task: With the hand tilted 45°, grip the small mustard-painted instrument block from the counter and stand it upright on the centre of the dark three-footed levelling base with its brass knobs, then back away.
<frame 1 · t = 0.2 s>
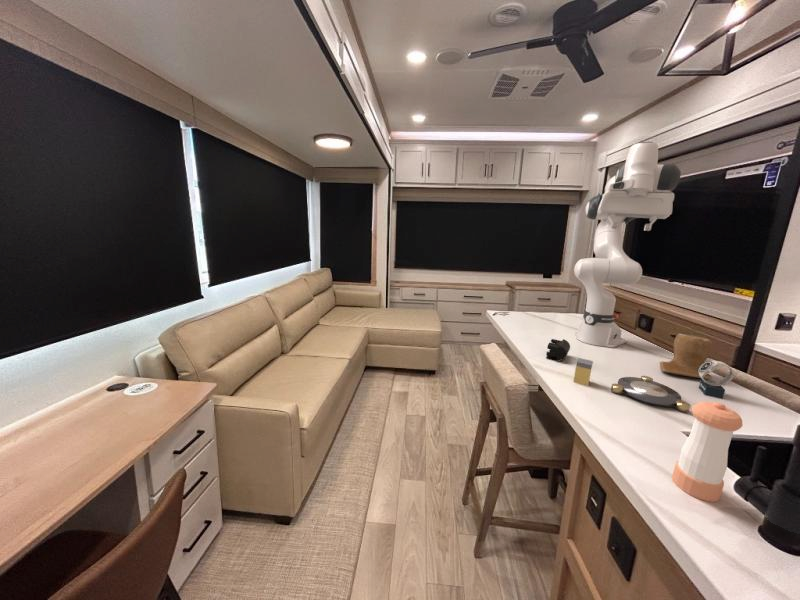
hand: (630, 229, 104), 52 cm above the table, tool tilted 20°, fingers open, 8 cm apart
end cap: (557, 358, 127), on the table
instrument block: (581, 381, 107), on the table
levelling base: (646, 394, 100), on the table
watch: (709, 393, 103), on the table
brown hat: (680, 373, 117), on the table
pepper shaker: (694, 487, 64), on the table
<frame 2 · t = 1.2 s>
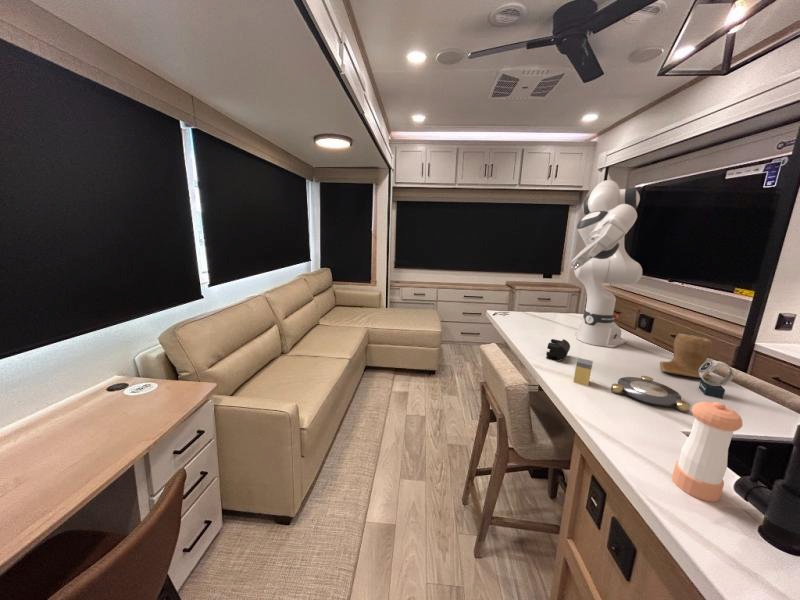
hand: (581, 262, 106), 40 cm above the table, tool tilted 55°, fingers open, 8 cm apart
nothing on the table moved.
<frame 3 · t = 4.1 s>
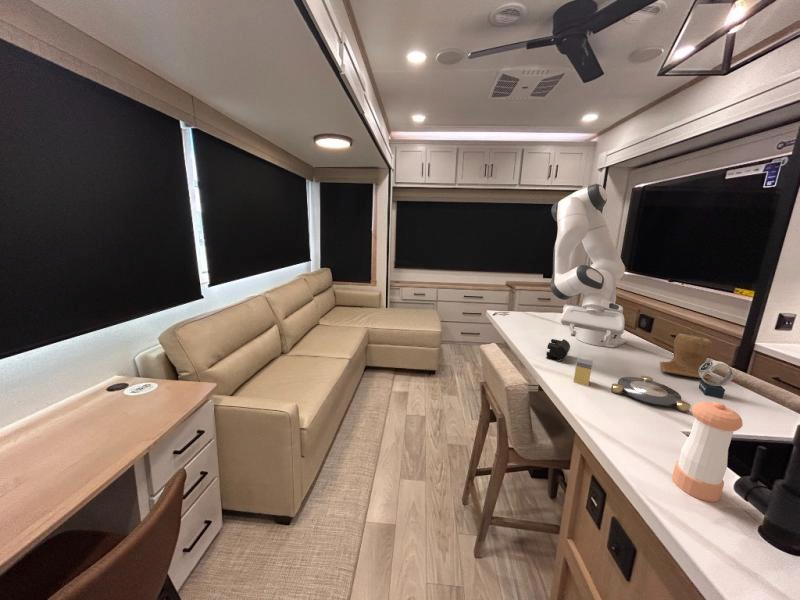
hand: (587, 338, 113), 13 cm above the table, tool tilted 45°, fingers open, 8 cm apart
nothing on the table moved.
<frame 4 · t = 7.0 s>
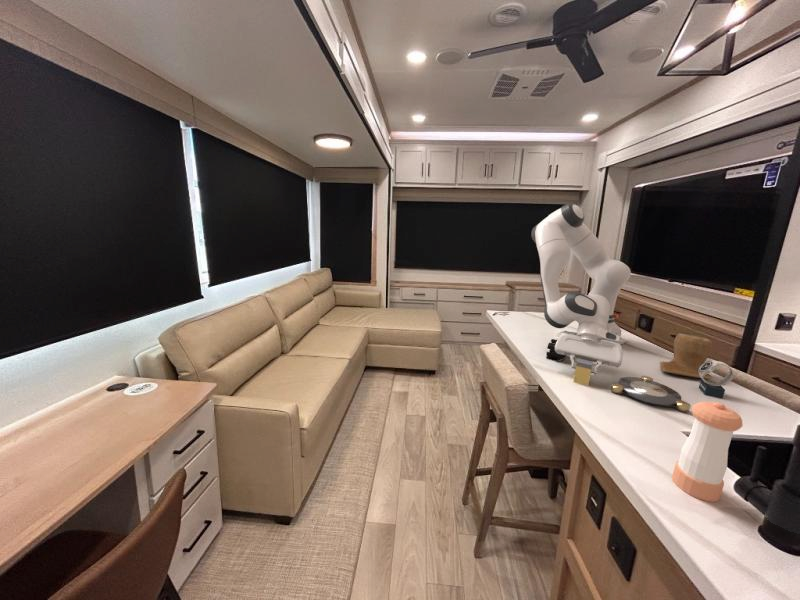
hand: (583, 370, 106), 4 cm above the table, tool tilted 45°, fingers closed on instrument block, 4 cm apart
instrument block: (581, 381, 107), on the table, touching gripper
everything else where it was.
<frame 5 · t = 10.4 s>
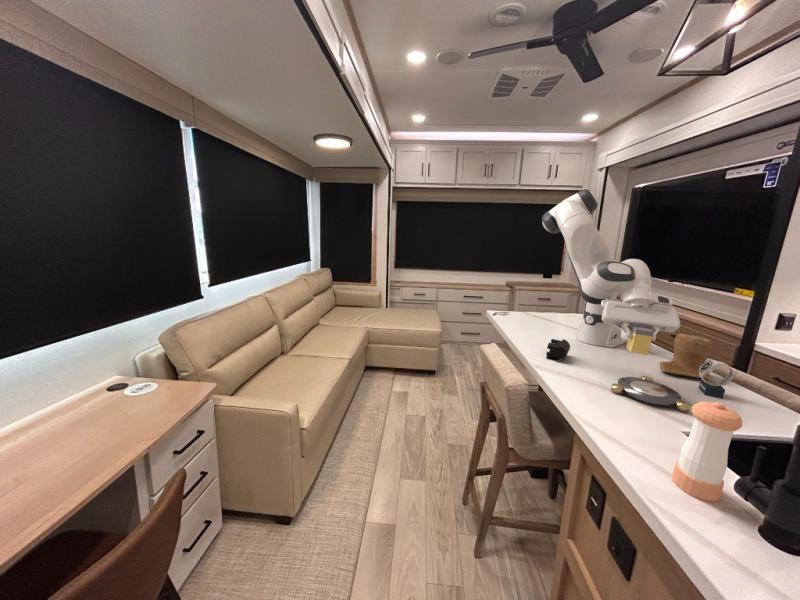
hand: (640, 338, 96), 19 cm above the table, tool tilted 45°, fingers closed on instrument block, 4 cm apart
instrument block: (636, 351, 98), point 14 cm above the table, touching gripper
everything else where it was.
when the fingers open (8 cm above the table, at t = 14.0 s): instrument block drops 1 cm, resting on levelling base.
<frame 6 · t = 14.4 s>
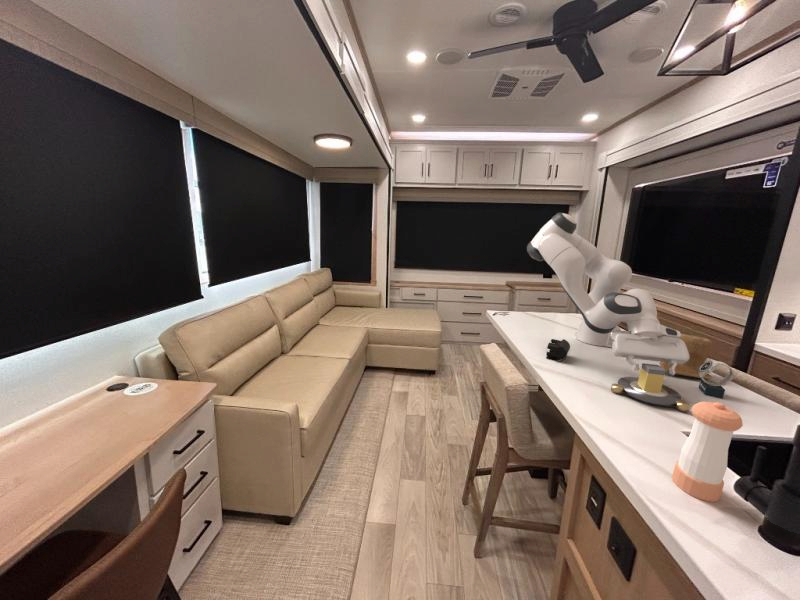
hand: (653, 372, 97), 8 cm above the table, tool tilted 45°, fingers open, 8 cm apart
instrument block: (648, 388, 99), point 2 cm above the table, touching levelling base
everything else where it was.
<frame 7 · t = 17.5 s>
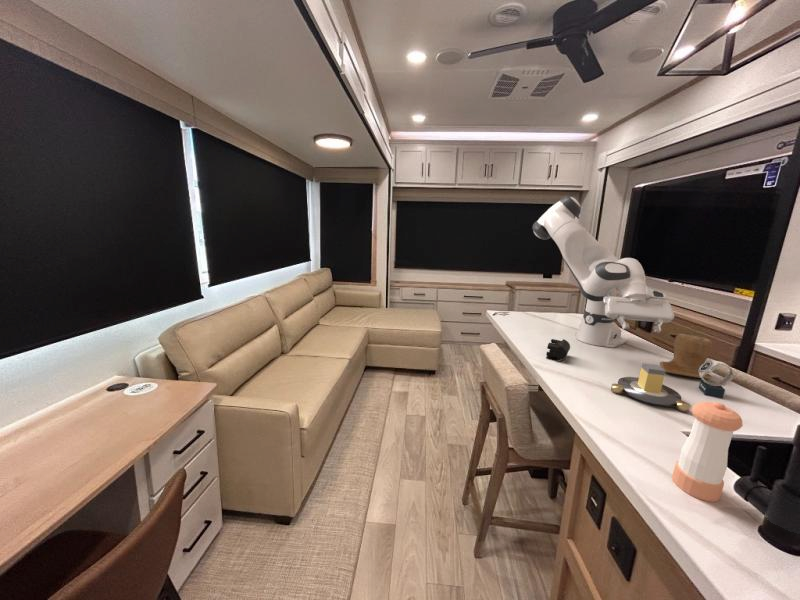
hand: (641, 330, 107), 18 cm above the table, tool tilted 45°, fingers open, 8 cm apart
nothing on the table moved.
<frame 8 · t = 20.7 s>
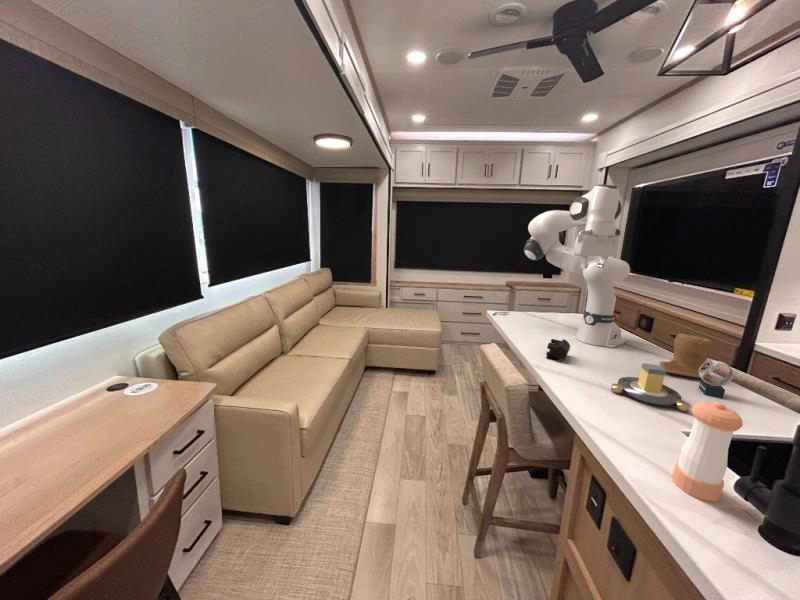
hand: (592, 268, 118), 37 cm above the table, tool pointing down, fingers open, 8 cm apart
nothing on the table moved.
at the end: instrument block 0.1 cm off-centre on the levelling base, point 2.3 cm above the levelling base's base; instrument block tilted 0°; the gripper is holding nothing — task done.
